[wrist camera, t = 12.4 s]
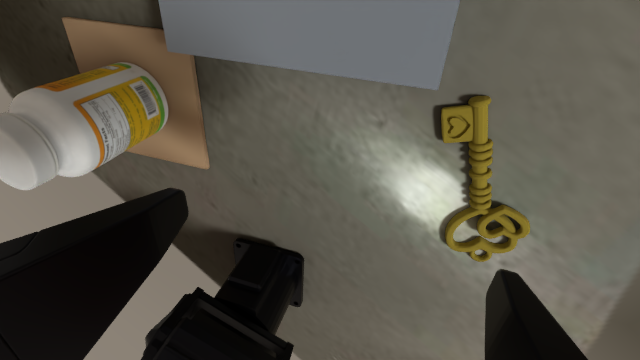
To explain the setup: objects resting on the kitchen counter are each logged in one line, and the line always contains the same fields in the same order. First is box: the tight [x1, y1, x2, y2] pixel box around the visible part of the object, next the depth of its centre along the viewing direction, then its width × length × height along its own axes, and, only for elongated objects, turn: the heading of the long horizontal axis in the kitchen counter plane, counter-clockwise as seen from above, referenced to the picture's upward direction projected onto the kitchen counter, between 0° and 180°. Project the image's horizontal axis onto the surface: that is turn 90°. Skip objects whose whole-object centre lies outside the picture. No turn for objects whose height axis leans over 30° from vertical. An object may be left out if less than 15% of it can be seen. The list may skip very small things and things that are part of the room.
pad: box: [62, 17, 210, 169], centre depth 26 cm, size 10×10×1 cm
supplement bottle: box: [0, 62, 168, 190], centre depth 21 cm, size 5×5×10 cm
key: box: [441, 96, 530, 262], centre depth 21 cm, size 12×1×5 cm
